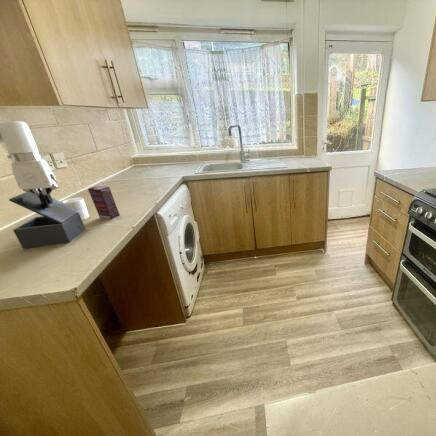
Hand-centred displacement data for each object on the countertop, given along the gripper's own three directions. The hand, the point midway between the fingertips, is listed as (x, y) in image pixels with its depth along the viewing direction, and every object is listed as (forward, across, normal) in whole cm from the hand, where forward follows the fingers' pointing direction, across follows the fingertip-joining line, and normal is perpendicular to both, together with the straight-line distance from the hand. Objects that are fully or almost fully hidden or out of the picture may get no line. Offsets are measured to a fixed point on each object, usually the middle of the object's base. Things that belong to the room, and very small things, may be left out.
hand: (48, 204), depth 96 cm
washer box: (+15, -2, 0) cm, 16 cm away
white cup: (+16, -4, +23) cm, 28 cm away
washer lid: (+1, -1, 0) cm, 1 cm away
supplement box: (+16, +10, +20) cm, 27 cm away
